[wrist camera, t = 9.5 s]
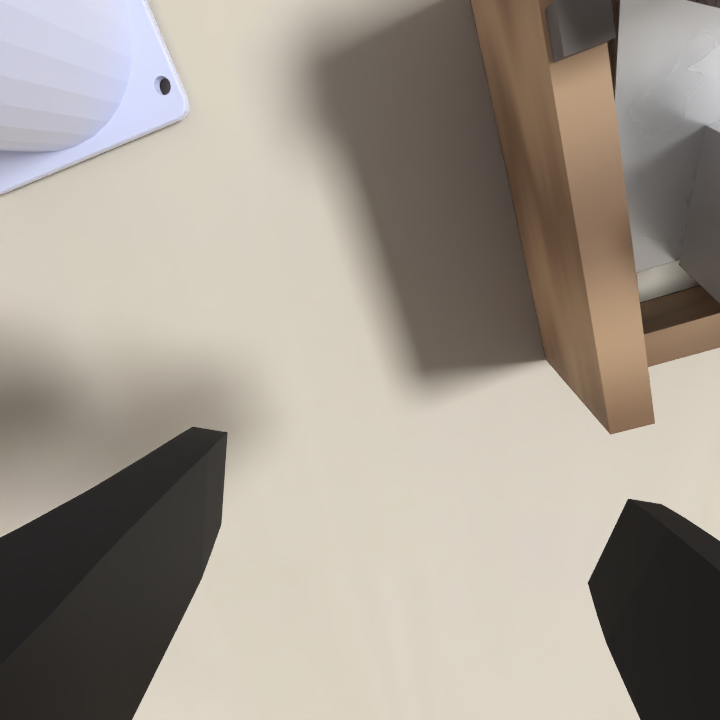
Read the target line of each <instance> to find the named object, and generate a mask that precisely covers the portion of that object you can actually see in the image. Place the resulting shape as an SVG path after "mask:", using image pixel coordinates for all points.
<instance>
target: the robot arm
mask: <svg viewBox="0 0 720 720" xmlns="http://www.w3.org/2000/svg"><path fill="white" fill-rule="evenodd" d="M164 78H167V79H168V80H169V82H170V85H171V89H170V92H169V93H168V94H167V95H163V94H162V92H161V91H160V86H159V85H160V82H161V80H163V79H164ZM189 107H190V104H189V100H188V97H187V95H186V92H185V90H184V87H183V85H182V83H181V80H180V78H179V76H178V73H177V71H176V68H175V66H174V64H173V61H172V59H171V57H170V54H169V52H168V49H167V47H166V45H165V42H164V40H163V38H162V35H161V33H160V31H159V28H158V26H157V23H156V21H155V19H154V16H153V14H152V12H151V9H150V7H149V4H148V2H147V0H0V194H5V193H7V192H10V191H12V190H14V189H17V188H19V187H22V186H24V185H26V184H29V183H31V182H34V181H36V180H39V179H41V178H43V177H46V176H48V175H51V174H53V173H55V172H58V171H60V170H63V169H65V168H68V167H70V166H72V165H75V164H77V163H80V162H82V161H84V160H87V159H89V158H92V157H94V156H97V155H99V154H101V153H104V152H106V151H109V150H111V149H113V148H116V147H118V146H121V145H123V144H126V143H128V142H130V141H133V140H135V139H138V138H140V137H142V136H145V135H147V134H150V133H152V132H155V131H157V130H159V129H162V128H164V127H167V126H169V125H171V124H174V123H176V122H179V121H181V120H183V119H184V118H185V117H186V116H187V114H188V113H189ZM226 445H227V432H221V431H215V430H209V429H203V428H197V427H192V428H190V429H188V430H186V431H185V432H183V433H181V434H180V435H178V436H177V437H175V438H173V439H172V440H170V441H168V442H167V443H165V444H164V445H162V446H161V447H159V448H157V449H156V450H154V451H153V452H151V453H149V454H148V455H146V456H145V457H143V458H141V459H140V460H138V461H136V462H135V463H133V464H131V465H130V466H128V467H127V468H125V469H123V470H122V471H120V472H118V473H117V474H115V475H113V476H112V477H110V478H108V479H107V480H105V481H103V482H102V483H100V484H98V485H97V486H95V487H93V488H91V489H90V490H88V491H86V492H84V493H82V494H81V495H79V496H77V497H75V498H73V499H71V500H70V501H68V502H66V503H64V504H62V505H61V506H59V507H57V508H55V509H53V510H51V511H50V512H48V513H46V514H44V515H42V516H40V517H39V518H37V519H35V520H33V521H31V522H29V523H28V524H26V525H24V526H22V527H20V528H18V529H16V530H14V531H12V532H10V533H9V534H7V535H5V536H3V537H1V538H0V720H132V719H133V717H134V715H135V712H136V710H137V708H138V706H139V704H140V702H141V700H142V698H143V696H144V694H145V692H146V690H147V688H148V686H149V684H150V682H151V680H152V678H153V676H154V674H155V672H156V670H157V668H158V666H159V664H160V662H161V660H162V658H163V656H164V654H165V652H166V650H167V648H168V646H169V644H170V642H171V640H172V638H173V636H174V634H175V632H176V630H177V628H178V626H179V624H180V622H181V620H182V618H183V616H184V614H185V612H186V610H187V608H188V606H189V603H190V601H191V599H192V597H193V595H194V593H195V591H196V589H197V587H198V585H199V583H200V581H201V579H202V576H203V573H204V571H205V568H206V565H207V563H208V560H209V557H210V555H211V552H212V549H213V546H214V543H215V540H216V538H217V535H218V532H219V529H220V526H221V520H222V505H223V490H224V475H225V460H226ZM588 585H589V589H590V592H591V595H592V599H593V602H594V606H595V609H596V613H597V616H598V619H599V622H600V625H601V628H602V631H603V634H604V637H605V640H606V643H607V645H608V648H609V650H610V652H611V655H612V657H613V659H614V662H615V664H616V666H617V668H618V671H619V673H620V675H621V677H622V679H623V682H624V684H625V686H626V688H627V691H628V693H629V695H630V697H631V700H632V702H633V704H634V706H635V708H636V711H637V713H638V715H639V717H640V719H641V720H720V541H719V540H717V539H716V538H714V537H713V536H711V535H710V534H708V533H707V532H705V531H704V530H702V529H701V528H699V527H698V526H696V525H695V524H693V523H692V522H690V521H689V520H687V519H686V518H684V517H682V516H681V515H679V514H677V513H676V512H674V511H672V510H671V509H669V508H667V507H665V506H664V505H662V504H657V503H651V502H645V501H639V500H632V499H628V500H627V502H626V504H625V507H624V509H623V511H622V513H621V515H620V517H619V519H618V521H617V523H616V525H615V527H614V529H613V532H612V534H611V536H610V538H609V540H608V542H607V544H606V546H605V548H604V550H603V552H602V555H601V557H600V559H599V561H598V563H597V565H596V567H595V569H594V571H593V573H592V575H591V578H590V580H589V582H588Z"/></svg>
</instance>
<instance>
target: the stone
mask: <svg viewBox="0 0 720 720" xmlns="http://www.w3.org/2000/svg"><path fill="white" fill-rule="evenodd" d="M679 265H680V266H681V267H682V268H683V269H684V270H685V271H686V272H687V273H688V274H689V275H690V276H691V277H692V278H693V279H695V280H696V281H697V282H698V283H699V284H700V285H701V286H702V287H703V288H704V289H705V290H706V291H707V292H708V293H709V294H710V295H711V296H712V297H714V298H715V299H716V300H717V301H718V302H719V303H720V120H719V121H716V122H713V123H710V124H707V125H706V126H705V132H704V137H703V142H702V147H701V153H700V158H699V163H698V169H697V174H696V179H695V185H694V190H693V195H692V201H691V206H690V211H689V216H688V222H687V227H686V232H685V238H684V243H683V248H682V254H681V259H680V263H679Z"/></svg>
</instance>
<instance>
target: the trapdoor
mask: <svg viewBox="0 0 720 720" xmlns="http://www.w3.org/2000/svg"><path fill="white" fill-rule="evenodd" d="M611 1H612V9H613V18H614V26H615V35H616V37H615V38H613V39H611V40H610V41H608V42H607V44H608V52H609V60H610V68H611V76H612V84H613V92H614V100H615V108H616V116H617V124H618V132H619V140H620V148H621V156H622V164H623V172H624V180H625V188H626V196H627V204H628V212H629V220H630V228H631V236H632V244H633V252H634V260H635V268H636V273H637V272H640V271H643V270H647V269H650V268H653V267H656V266H660V265H663V264H666V263H670V262H673V261H676V260H679V259H681V254H682V248H683V243H684V238H685V232H686V227H687V222H688V216H689V211H690V206H691V201H692V195H693V190H694V185H695V179H696V174H697V169H698V163H699V158H700V153H701V147H702V142H703V137H704V132H705V126H706V125H707V124H710V123H713V122H716V121H719V120H720V0H611Z"/></svg>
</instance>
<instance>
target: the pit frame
mask: <svg viewBox="0 0 720 720" xmlns="http://www.w3.org/2000/svg"><path fill="white" fill-rule="evenodd" d="M471 5H472V9H473V14H474V19H475V24H476V28H477V33H478V38H479V43H480V47H481V52H482V57H483V62H484V66H485V71H486V76H487V81H488V85H489V90H490V95H491V100H492V104H493V109H494V114H495V119H496V123H497V128H498V133H499V138H500V142H501V147H502V152H503V157H504V161H505V166H506V171H507V176H508V180H509V185H510V190H511V195H512V199H513V204H514V209H515V214H516V218H517V223H518V228H519V233H520V237H521V242H522V247H523V252H524V256H525V261H526V266H527V271H528V275H529V280H530V285H531V290H532V294H533V299H534V304H535V309H536V313H537V318H538V323H539V328H540V332H541V337H542V342H543V347H544V351H545V356H546V360H547V361H548V363H549V364H550V365H551V366H552V367H553V368H554V370H555V371H556V372H557V373H558V374H559V375H560V377H561V378H562V379H563V380H564V381H565V382H566V383H567V385H568V386H569V387H570V388H571V389H572V390H573V392H574V393H575V394H576V395H577V396H578V397H579V399H580V400H581V401H582V402H583V403H584V404H585V406H586V407H587V408H588V409H589V410H590V411H591V412H592V414H593V415H594V416H595V417H596V418H597V419H598V421H599V422H600V423H601V424H602V425H603V426H604V428H605V429H606V430H607V431H608V432H609V433H610V434H614V433H618V432H622V431H626V430H630V429H634V428H638V427H642V426H646V425H650V424H654V423H655V420H654V412H653V404H652V396H651V388H650V380H649V372H648V367H650V366H653V365H657V364H661V363H664V362H668V361H672V360H675V359H679V358H683V357H686V356H690V355H694V354H697V353H701V352H705V351H708V350H712V349H716V348H719V347H720V303H719V302H718V301H717V300H716V299H715V298H714V297H712V296H711V295H710V294H709V293H708V292H707V291H706V290H705V289H704V288H703V287H702V286H697V287H694V288H690V289H687V290H684V291H680V292H677V293H673V294H670V295H667V296H663V297H660V298H656V299H653V300H650V301H646V302H643V303H640V300H639V292H638V284H637V276H636V268H635V260H634V252H633V244H632V236H631V228H630V220H629V212H628V204H627V196H626V188H625V180H624V172H623V164H622V156H621V148H620V140H619V132H618V124H617V116H616V108H615V100H614V92H613V84H612V76H611V68H610V60H609V52H608V44H607V42H608V41H610V40H611V39H613V38H615V37H616V35H615V26H614V18H613V9H612V1H611V0H471Z"/></svg>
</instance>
